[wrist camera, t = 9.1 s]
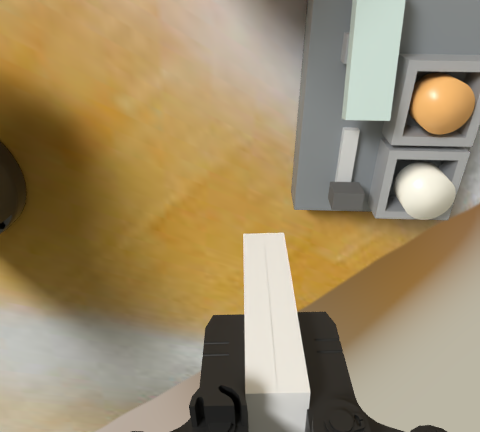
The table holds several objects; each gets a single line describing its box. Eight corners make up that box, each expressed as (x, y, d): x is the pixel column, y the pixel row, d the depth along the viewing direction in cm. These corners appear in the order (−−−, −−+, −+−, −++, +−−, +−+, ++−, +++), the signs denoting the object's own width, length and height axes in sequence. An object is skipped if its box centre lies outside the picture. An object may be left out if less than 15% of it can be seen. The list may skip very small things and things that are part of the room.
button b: (401, 122, 36) (412, 134, 34) (412, 71, 34) (425, 79, 31) (450, 123, 36) (465, 135, 33) (465, 72, 34) (482, 80, 31)
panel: (291, 191, 45) (296, 224, 39) (312, -52, 33) (324, -57, 27) (433, 195, 45) (460, 229, 39) (506, -50, 33) (561, -55, 27)
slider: (327, 197, 40) (331, 209, 38) (330, 181, 39) (334, 193, 37) (356, 198, 40) (361, 210, 38) (359, 182, 39) (364, 193, 37)
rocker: (341, 118, 33) (346, 120, 32) (354, -18, 30) (359, -24, 28) (384, 119, 33) (390, 121, 31) (401, -18, 30) (409, -24, 28)
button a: (388, 202, 39) (398, 219, 36) (398, 160, 36) (409, 175, 34) (434, 204, 39) (447, 220, 36) (447, 161, 36) (462, 176, 34)
